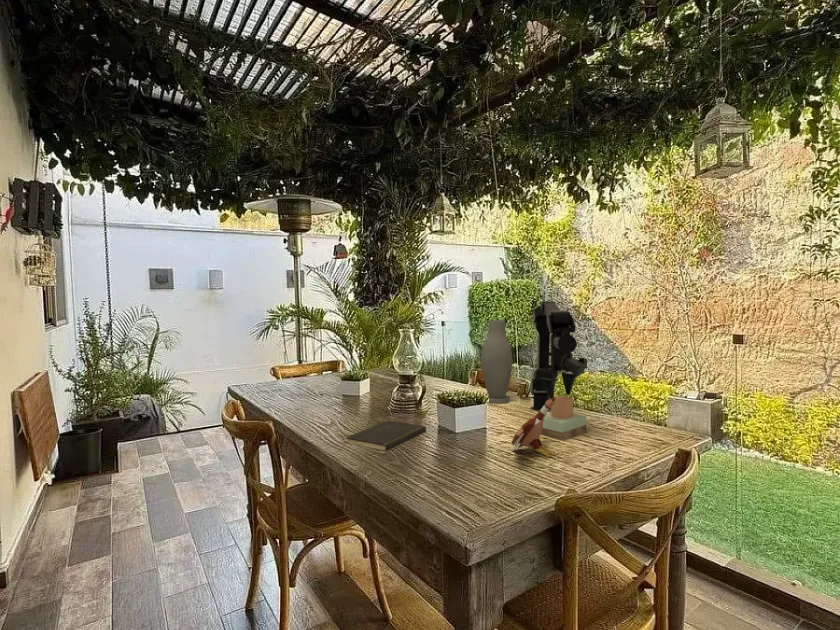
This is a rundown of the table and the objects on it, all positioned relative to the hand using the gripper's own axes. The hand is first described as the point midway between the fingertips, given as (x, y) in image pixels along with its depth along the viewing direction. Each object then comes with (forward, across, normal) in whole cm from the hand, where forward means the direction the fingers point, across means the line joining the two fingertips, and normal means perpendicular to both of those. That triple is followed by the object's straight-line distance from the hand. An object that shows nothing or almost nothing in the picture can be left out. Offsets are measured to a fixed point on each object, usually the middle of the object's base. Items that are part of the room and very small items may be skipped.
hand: (560, 396), depth 153 cm
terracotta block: (+6, 0, -1) cm, 6 cm away
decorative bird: (+12, -23, -7) cm, 27 cm away
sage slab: (+9, 0, 0) cm, 9 cm away
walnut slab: (+12, 0, -1) cm, 12 cm away
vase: (+12, +20, +46) cm, 51 cm away
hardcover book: (+13, -45, +35) cm, 59 cm away
